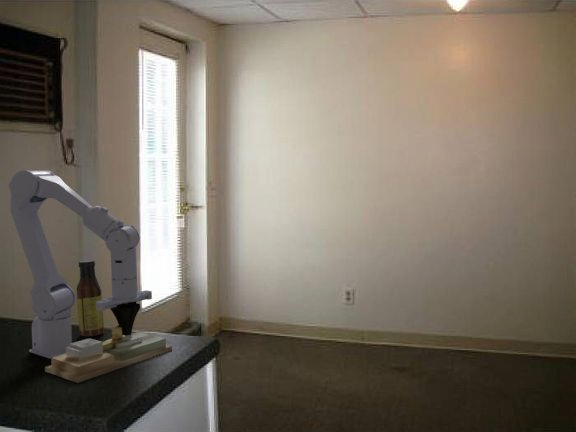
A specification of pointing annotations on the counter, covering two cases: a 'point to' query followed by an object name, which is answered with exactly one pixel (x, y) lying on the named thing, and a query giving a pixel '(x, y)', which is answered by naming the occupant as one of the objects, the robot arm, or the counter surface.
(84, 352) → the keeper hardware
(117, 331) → the bolt
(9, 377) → the counter surface
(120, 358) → the door and jamb
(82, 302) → the sauce bottle
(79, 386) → the counter surface
